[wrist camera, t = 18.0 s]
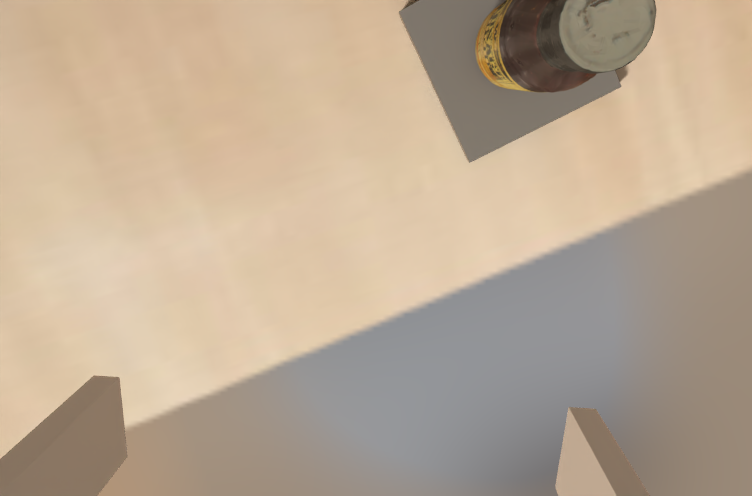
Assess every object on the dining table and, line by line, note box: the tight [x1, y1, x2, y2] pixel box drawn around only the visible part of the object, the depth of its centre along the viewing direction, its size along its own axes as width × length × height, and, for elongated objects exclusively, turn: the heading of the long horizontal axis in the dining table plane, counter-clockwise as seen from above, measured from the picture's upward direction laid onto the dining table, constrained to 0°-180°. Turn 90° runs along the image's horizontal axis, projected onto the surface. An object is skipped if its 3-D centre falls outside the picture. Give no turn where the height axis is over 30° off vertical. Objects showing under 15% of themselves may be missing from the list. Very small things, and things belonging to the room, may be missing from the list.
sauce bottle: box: [475, 0, 656, 93], centre depth 31 cm, size 7×6×20 cm
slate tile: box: [399, 0, 621, 163], centre depth 41 cm, size 13×13×1 cm
